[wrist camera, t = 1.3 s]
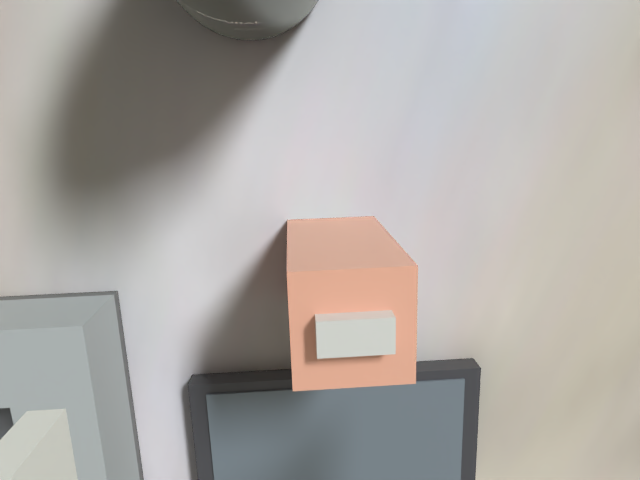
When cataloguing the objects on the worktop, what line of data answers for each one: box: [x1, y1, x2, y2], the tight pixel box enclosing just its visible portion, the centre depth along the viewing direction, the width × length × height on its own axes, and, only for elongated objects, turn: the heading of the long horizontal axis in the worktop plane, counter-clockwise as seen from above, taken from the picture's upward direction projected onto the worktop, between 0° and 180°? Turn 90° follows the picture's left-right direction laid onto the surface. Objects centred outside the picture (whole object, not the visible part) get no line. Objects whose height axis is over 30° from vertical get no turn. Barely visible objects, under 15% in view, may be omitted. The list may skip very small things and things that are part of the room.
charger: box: [287, 216, 418, 391], centre depth 19 cm, size 4×4×9 cm
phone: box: [188, 358, 481, 480], centre depth 25 cm, size 7×14×1 cm, turn 92°
